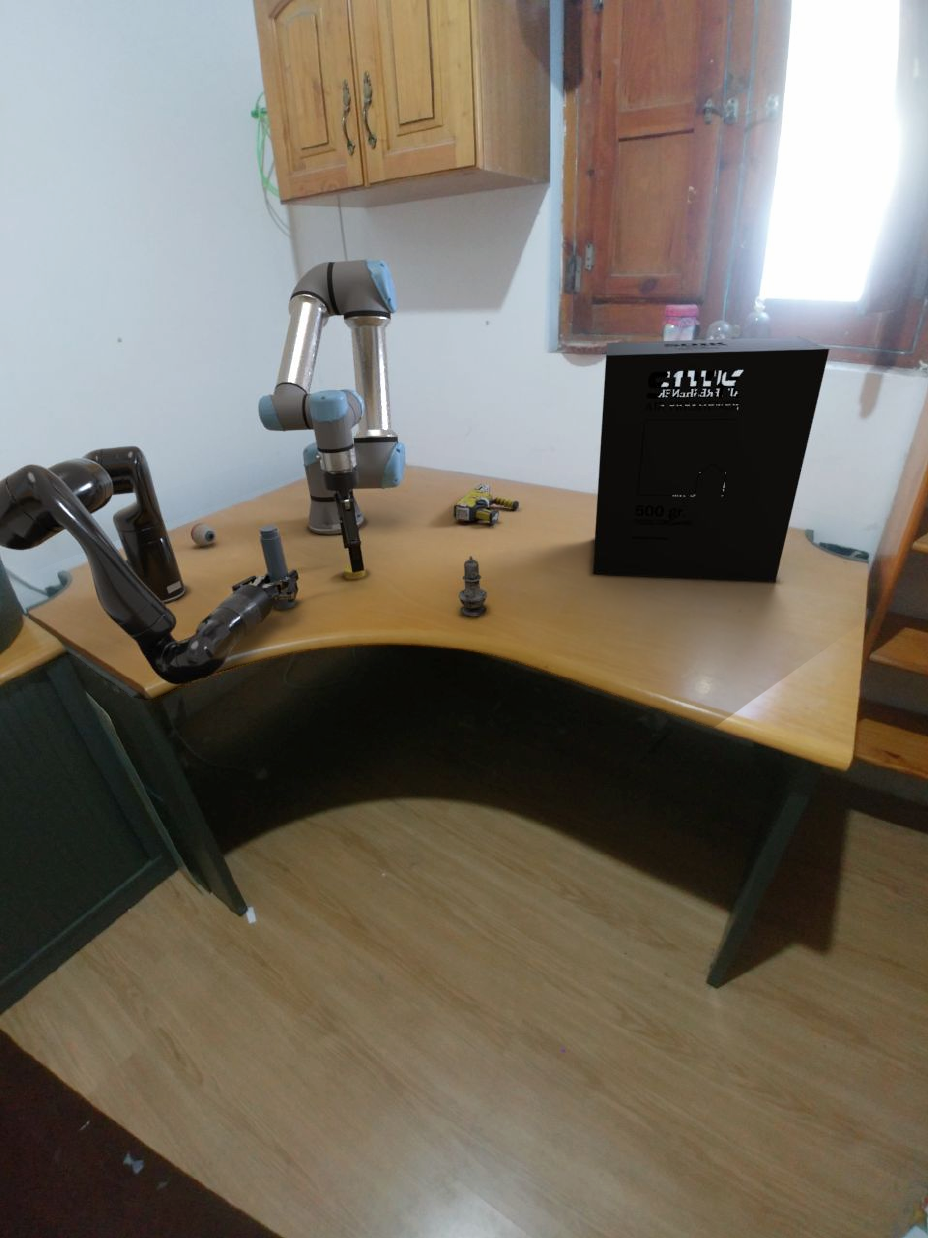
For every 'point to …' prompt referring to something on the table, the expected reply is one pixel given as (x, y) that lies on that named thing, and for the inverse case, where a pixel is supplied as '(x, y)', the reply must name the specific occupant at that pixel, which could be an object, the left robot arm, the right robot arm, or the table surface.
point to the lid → (354, 575)
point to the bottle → (274, 559)
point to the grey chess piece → (472, 590)
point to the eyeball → (203, 534)
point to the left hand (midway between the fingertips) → (285, 573)
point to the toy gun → (480, 505)
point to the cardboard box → (703, 455)
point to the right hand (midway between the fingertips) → (353, 558)
